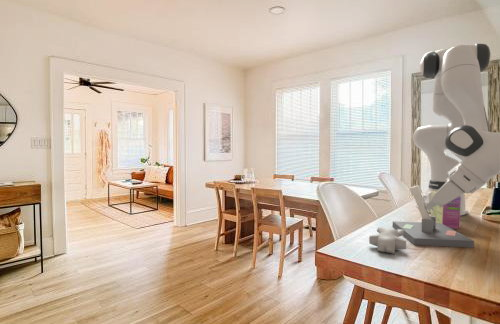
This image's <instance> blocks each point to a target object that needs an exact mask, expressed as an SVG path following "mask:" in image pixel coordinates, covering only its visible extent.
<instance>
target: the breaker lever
mask: <svg viewBox="0 0 500 324" xmlns="http://www.w3.org/2000/svg"><path fill="white" fill-rule="evenodd" d="M408 189H409V192H410V195H411V196H412V197H414V200H415V204H417V206H418V207H417V206H416V207H417V209H418V208H419V209H418V211H419V213H420V216H421V220H422V219H429V220H433V219H431V217H430V216H431V214H430V213H429V212H428V210H427V209H426V208H425V202H424V200H423V197H422V195H423V190H422V189H421V185H420V184H417V185H415V186H414V185H413V186H410V187H409V188H408ZM434 225H435V221H434V220H433V227H434Z"/></svg>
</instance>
